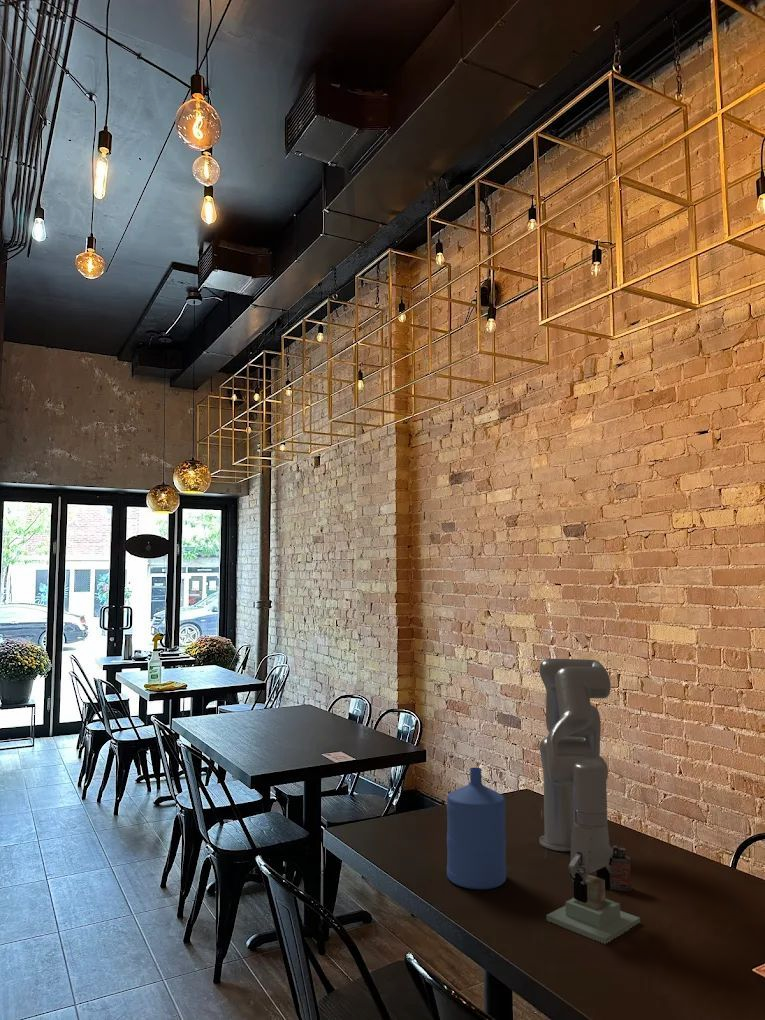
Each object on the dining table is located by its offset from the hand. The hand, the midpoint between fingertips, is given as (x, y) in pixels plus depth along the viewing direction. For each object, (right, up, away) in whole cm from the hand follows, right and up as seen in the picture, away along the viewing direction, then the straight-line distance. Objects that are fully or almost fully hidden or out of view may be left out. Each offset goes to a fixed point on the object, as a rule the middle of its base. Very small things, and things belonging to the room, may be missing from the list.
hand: (592, 894), depth 164 cm
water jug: (-24, -9, +24) cm, 35 cm away
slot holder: (0, -6, -1) cm, 6 cm away
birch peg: (0, -5, 0) cm, 5 cm away
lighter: (+12, -9, +19) cm, 24 cm away
